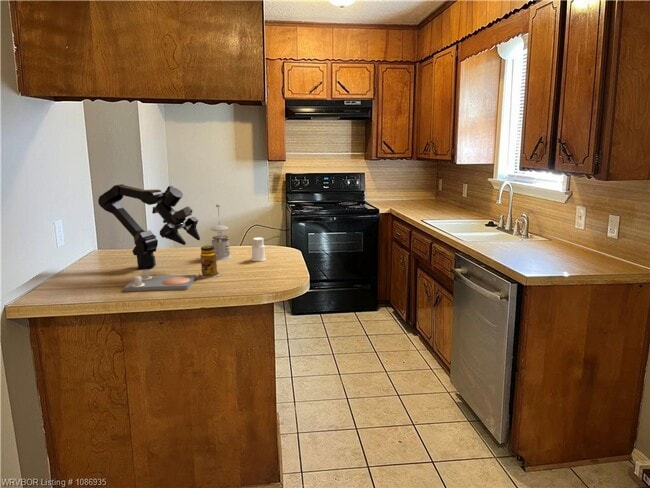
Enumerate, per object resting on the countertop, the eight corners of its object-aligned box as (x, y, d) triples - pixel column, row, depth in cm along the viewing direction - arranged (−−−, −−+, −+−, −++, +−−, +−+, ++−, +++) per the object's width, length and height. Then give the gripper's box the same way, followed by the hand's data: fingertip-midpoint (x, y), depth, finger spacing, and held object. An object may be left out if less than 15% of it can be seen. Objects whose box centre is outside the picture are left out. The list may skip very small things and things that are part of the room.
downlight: (250, 262, 213) (250, 240, 211) (248, 258, 220) (248, 237, 217) (268, 261, 215) (268, 239, 213) (265, 257, 222) (266, 236, 220)
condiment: (202, 278, 190) (200, 249, 187) (199, 273, 198) (196, 245, 195) (220, 276, 193) (218, 247, 190) (216, 271, 200) (214, 243, 198)
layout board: (124, 291, 175) (123, 279, 174) (137, 279, 189) (136, 268, 188) (187, 289, 176) (186, 277, 175) (195, 278, 190) (195, 267, 189)
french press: (210, 260, 217) (206, 206, 211) (210, 254, 228) (206, 202, 222) (232, 259, 219) (229, 205, 213) (231, 253, 230) (228, 201, 224)
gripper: (162, 204, 185) (188, 233, 183) (192, 198, 202) (216, 225, 200) (148, 223, 190) (173, 252, 188) (179, 215, 206) (202, 242, 205)
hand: (192, 242), depth 195 cm, fingers open, 9 cm apart
